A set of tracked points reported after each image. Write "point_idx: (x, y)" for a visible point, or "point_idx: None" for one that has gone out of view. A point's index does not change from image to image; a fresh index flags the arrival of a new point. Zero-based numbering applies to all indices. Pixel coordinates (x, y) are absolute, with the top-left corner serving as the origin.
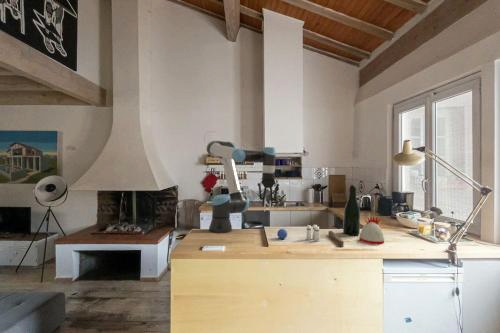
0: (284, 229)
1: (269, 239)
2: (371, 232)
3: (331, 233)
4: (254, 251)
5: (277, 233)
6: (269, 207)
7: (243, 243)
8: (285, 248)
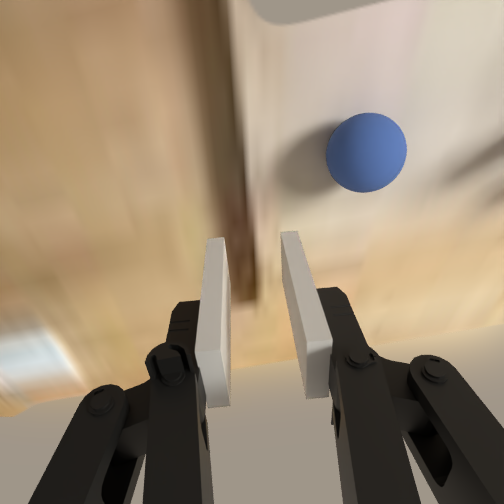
0: (394, 162)
1: (264, 177)
2: None
3: None
4: None
5: (328, 163)
6: (287, 265)
7: (125, 283)
8: None
